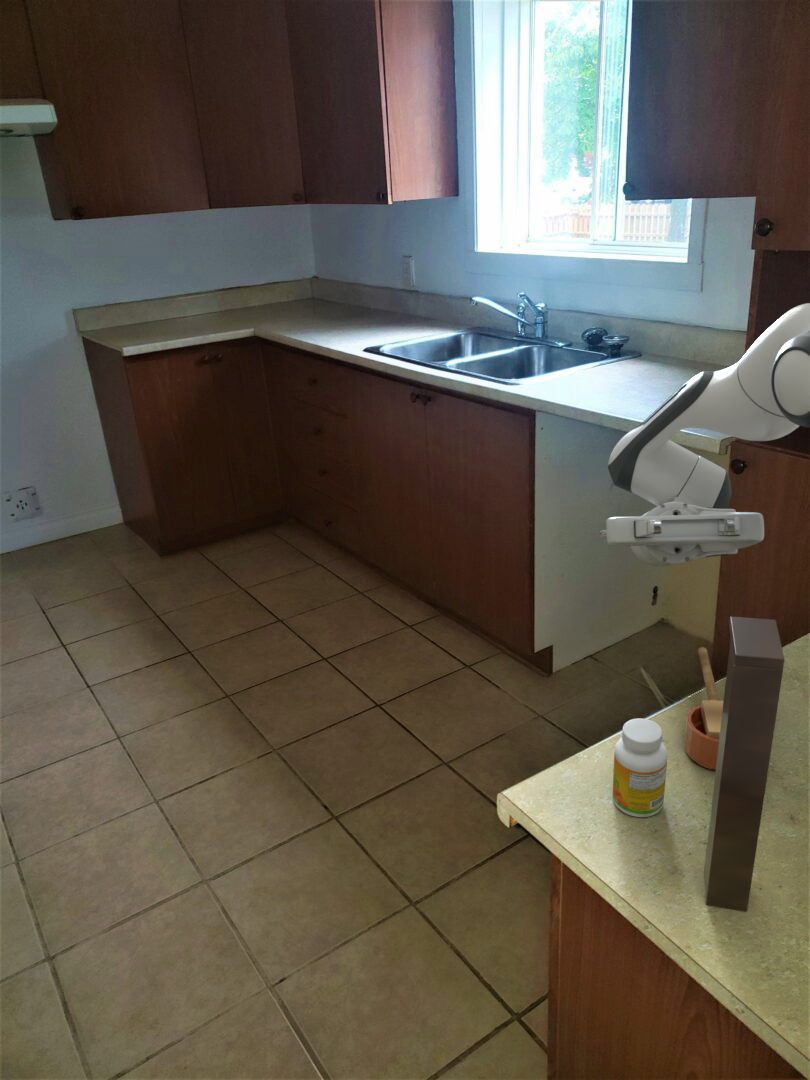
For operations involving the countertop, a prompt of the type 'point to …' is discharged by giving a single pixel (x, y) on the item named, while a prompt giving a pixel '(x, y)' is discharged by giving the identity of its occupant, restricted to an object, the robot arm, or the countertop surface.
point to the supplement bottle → (640, 769)
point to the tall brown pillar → (742, 759)
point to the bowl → (700, 740)
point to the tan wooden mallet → (710, 698)
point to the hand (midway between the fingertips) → (694, 525)
